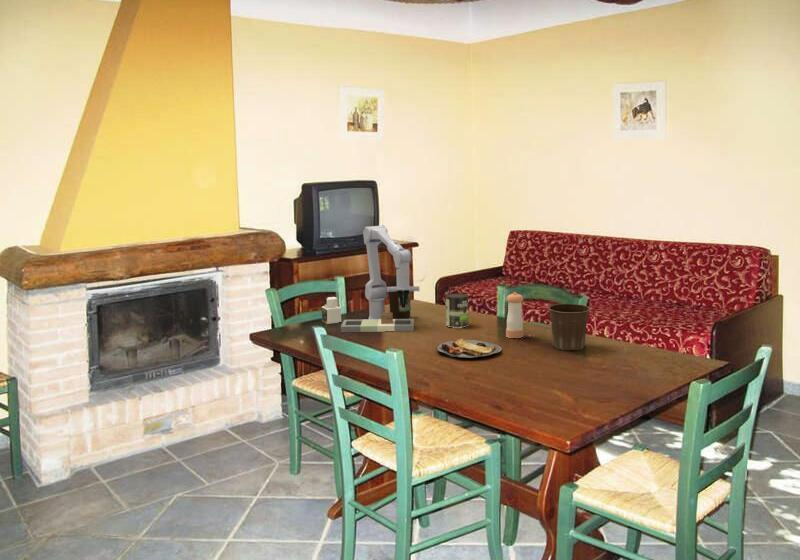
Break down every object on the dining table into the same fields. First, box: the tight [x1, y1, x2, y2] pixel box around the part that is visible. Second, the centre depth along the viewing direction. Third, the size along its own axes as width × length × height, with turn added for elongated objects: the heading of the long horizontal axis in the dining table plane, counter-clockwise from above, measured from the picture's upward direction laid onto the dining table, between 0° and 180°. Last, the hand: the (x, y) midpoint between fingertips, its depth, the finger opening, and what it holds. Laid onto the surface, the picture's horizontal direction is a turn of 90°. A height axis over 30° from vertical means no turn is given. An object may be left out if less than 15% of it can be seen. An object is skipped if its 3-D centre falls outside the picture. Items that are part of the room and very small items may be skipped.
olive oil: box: [387, 274, 412, 319], centre depth 355 cm, size 11×11×25 cm
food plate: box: [435, 337, 502, 359], centre depth 295 cm, size 25×23×4 cm
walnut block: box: [381, 312, 393, 324], centre depth 337 cm, size 5×5×4 cm
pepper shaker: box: [505, 291, 524, 339], centre depth 316 cm, size 7×7×19 cm
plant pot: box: [547, 303, 591, 351], centre depth 298 cm, size 16×16×16 cm
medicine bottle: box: [321, 295, 342, 325], centre depth 352 cm, size 7×7×12 cm
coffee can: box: [445, 292, 469, 329], centre depth 338 cm, size 10×10×14 cm
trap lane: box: [340, 318, 415, 333], centre depth 338 cm, size 14×32×2 cm, turn 89°
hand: (403, 307), depth 336 cm, fingers closed
